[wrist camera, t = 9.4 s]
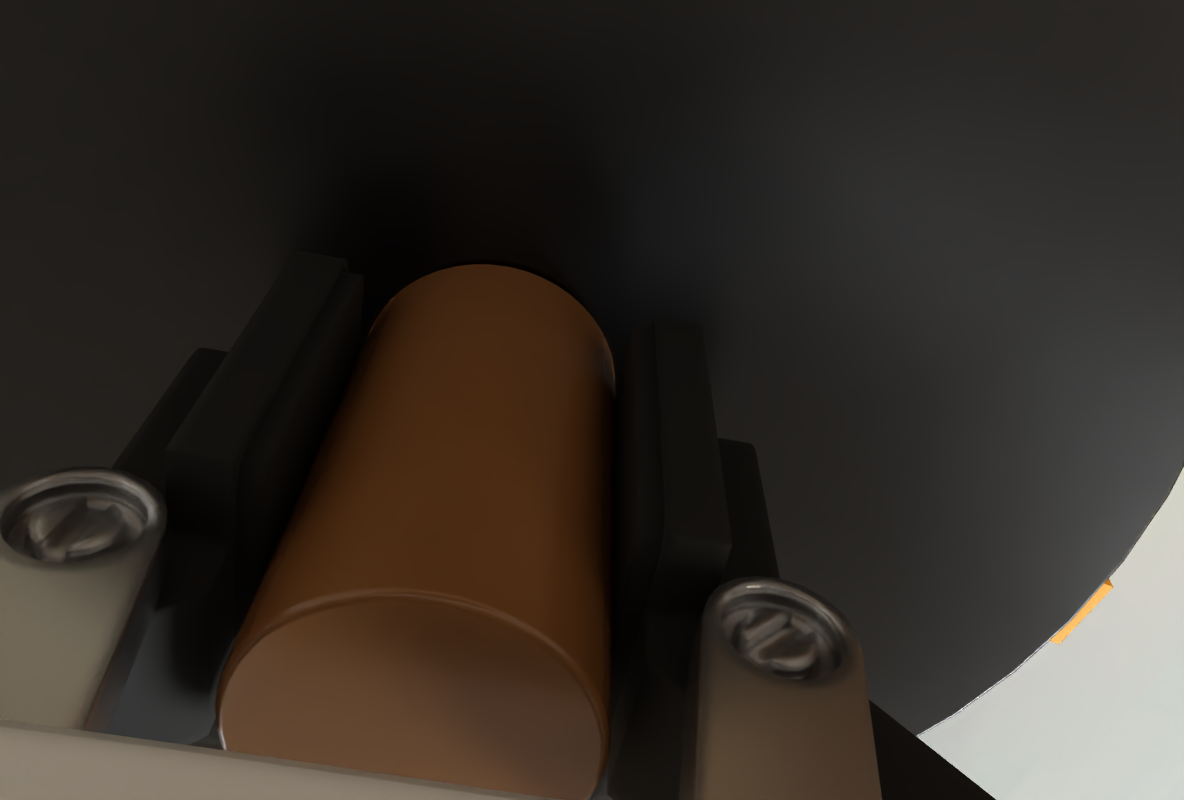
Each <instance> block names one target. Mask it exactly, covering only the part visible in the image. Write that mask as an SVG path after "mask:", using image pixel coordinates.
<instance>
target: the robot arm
mask: <svg viewBox="0 0 1184 800" xmlns="http://www.w3.org/2000/svg"><path fill="white" fill-rule="evenodd" d="M363 293H364V277H363V275H360V274H355V273H349V272H348V262H347V259H343V258H338V257H332V256H327V255H321V254H316V253H310V252H305V251H299V250H296V251H295V252H294V253H293V255H292V256H291V258H290V259H289V261H288V262H287V264H286V265H285V267H284V268H283V270H282V271H281V273H280V274H279V276H278V277H277V279H276V281H275V282H274V284H273V285H272V287H271V288H270V290H269V291H268V293H267V294H266V296H265V297H264V299H263V300H262V302H261V303H260V305H259V306H258V308H257V310H256V311H255V313H254V314H253V316H252V317H251V319H250V320H249V322H248V323H247V325H246V326H245V328H244V329H243V331H242V332H241V334H240V335H239V337H238V339H237V340H236V342H235V343H234V345H233V346H232V348H231V349H230V351H229V352H227V351H221V350H215V349H210V348H198V349H197V350H196V351H195V352H194V353H193V354H192V355H191V357H190V358H189V359H188V361H187V362H186V364H185V365H184V366H183V368H182V369H181V371H180V372H179V373H178V375H177V376H176V378H175V379H174V380H173V382H172V383H171V385H170V386H169V387H168V389H167V390H166V392H165V393H164V394H163V396H162V397H161V399H160V400H159V401H158V403H157V404H156V406H155V407H154V408H153V410H152V411H151V413H150V414H149V415H148V417H147V418H146V420H145V421H144V422H143V424H142V425H141V427H140V428H139V429H138V431H137V432H136V434H135V435H134V436H133V438H132V439H131V441H130V442H129V443H128V445H127V446H126V448H125V449H124V450H123V452H122V453H121V455H120V456H119V458H118V459H117V460H116V462H115V463H114V465H113V466H112V467H111V468H107V467H87V466H74V467H68V468H61V469H55V470H49V471H45V472H42V473H39V474H36V475H33V476H30V477H27V478H25V479H22V480H20V481H18V482H16V483H15V484H13V485H11V486H10V487H8V488H6V489H5V490H3V491H1V492H0V800H561V799H554V798H547V797H541V796H534V795H527V794H520V793H513V792H506V791H500V790H493V789H486V788H479V787H472V786H466V785H459V784H452V783H445V782H438V781H432V780H425V779H418V778H411V777H404V776H397V775H391V774H384V773H377V772H370V771H363V770H356V769H349V768H342V767H336V766H329V765H322V764H315V763H308V762H301V761H294V760H287V759H280V758H273V757H267V756H260V755H253V754H246V753H239V752H232V751H225V750H218V749H211V748H204V747H197V746H190V744H192V743H194V742H200V743H207V744H214V745H221V743H220V739H219V735H218V732H217V726H216V715H215V698H216V688H217V685H218V682H219V678H220V675H221V672H222V669H223V667H224V665H225V662H226V660H227V658H228V655H229V653H230V651H231V649H232V646H233V644H234V642H235V639H236V637H237V635H238V633H239V630H240V628H241V626H242V623H243V621H244V619H245V616H246V614H247V612H248V610H249V607H250V605H251V603H252V600H253V598H254V596H255V593H256V591H257V589H258V587H259V584H260V582H261V580H262V577H263V575H264V573H265V570H266V568H267V566H268V564H269V561H270V559H271V557H272V554H273V552H274V550H275V547H276V545H277V543H278V541H279V538H280V536H281V534H282V531H283V529H284V527H285V525H286V522H287V520H288V518H289V515H290V513H291V511H292V508H293V506H294V504H295V502H296V499H297V497H298V495H299V492H300V490H301V488H302V485H303V483H304V481H305V479H306V476H307V474H308V472H309V469H310V467H311V465H312V462H313V460H314V458H315V456H316V453H317V451H318V449H319V446H320V444H321V442H322V439H323V437H324V435H325V433H326V430H327V428H328V426H329V423H330V421H331V419H332V417H333V414H334V412H335V410H336V407H337V405H338V403H339V400H340V398H341V396H342V394H343V391H344V389H345V387H346V384H347V382H348V380H349V377H350V375H351V373H352V371H353V368H354V366H355V364H356V361H357V359H358V351H359V339H360V327H361V316H362V304H363ZM591 800H996V799H994V798H993V797H992V796H991V795H989V794H988V793H987V792H986V791H984V790H983V789H982V788H981V787H979V786H978V785H977V784H976V783H974V782H973V781H972V780H970V779H969V778H968V777H967V776H965V775H964V774H963V773H962V772H960V771H959V770H958V769H957V768H955V767H954V766H953V765H951V764H950V763H949V762H948V761H946V760H945V759H944V758H943V757H941V756H940V755H939V754H938V753H936V752H935V751H934V750H933V749H931V748H930V747H929V746H927V745H926V744H925V743H924V742H922V741H921V740H920V739H919V738H917V737H916V736H915V735H914V734H912V733H911V732H910V731H908V730H907V729H906V728H905V727H903V726H902V725H901V724H900V723H898V722H897V721H896V720H895V719H893V718H892V717H891V716H889V715H888V714H887V713H886V712H884V711H883V710H882V709H881V708H879V707H878V706H877V705H876V704H874V703H873V702H872V701H871V700H869V698H868V691H867V683H866V676H865V668H864V661H863V653H862V648H861V645H860V642H859V639H858V636H857V633H856V631H855V630H854V628H853V627H852V625H851V624H850V623H849V621H848V620H847V619H846V617H845V616H844V614H843V613H841V612H840V611H839V610H838V609H837V608H836V607H834V606H833V605H832V604H831V603H830V602H829V601H827V600H826V599H825V598H823V597H822V596H820V595H818V594H816V593H814V592H813V591H811V590H809V589H807V588H805V587H804V586H801V585H798V584H795V583H792V582H789V581H786V580H783V579H780V576H779V571H778V565H777V560H776V555H775V549H774V544H773V539H772V534H771V528H770V523H769V518H768V513H767V507H766V502H765V497H764V491H763V486H762V481H761V476H760V470H759V465H758V460H757V454H756V451H755V448H754V445H752V444H750V443H746V442H740V441H735V440H729V439H723V438H718V436H717V429H716V422H715V415H714V407H713V400H712V393H711V385H710V378H709V371H708V364H707V356H706V349H705V342H704V335H703V328H702V325H701V324H697V323H692V322H686V321H681V320H675V319H670V318H665V317H659V316H654V318H653V319H652V322H651V325H650V327H645V326H639V325H634V326H633V329H632V332H631V336H630V340H629V344H628V348H627V352H626V356H625V361H624V365H623V369H622V373H621V377H620V382H619V386H618V390H617V394H616V398H615V402H614V478H613V566H612V663H611V747H610V753H609V758H608V763H607V766H606V768H605V771H604V773H603V776H602V778H601V781H600V783H599V784H598V786H597V788H596V789H595V791H594V792H593V794H592V796H591Z"/></svg>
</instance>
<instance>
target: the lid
mask: <svg viewBox="0 0 1184 800" xmlns="http://www.w3.org/2000/svg"><path fill="white" fill-rule="evenodd" d="M296 250H299V251H305V252H310V253H316V254H321V255H327V256H332V257H338V258H343V259H347V262H348V272H349V273H355V274H360V275H363V277H364V293H363V304H362V316H361V327H360V339H359V351H358V359H357V361H356V364H355V366H354V368H353V371H352V373H351V375H350V377H349V380H348V382H347V384H346V387H345V389H344V391H343V394H342V396H341V398H340V400H339V403H338V405H337V407H336V410H335V412H334V414H333V417H332V419H331V421H330V423H329V426H328V428H327V430H326V433H325V435H324V437H323V439H322V442H321V444H320V446H319V449H318V451H317V453H316V456H315V458H314V460H313V462H312V465H311V467H310V469H309V472H308V474H307V476H306V479H305V481H304V483H303V485H302V488H301V490H300V492H299V495H298V497H297V499H296V502H295V504H294V506H293V508H292V511H291V513H290V515H289V518H288V520H287V522H286V525H285V527H284V529H283V531H282V534H281V536H280V538H279V541H278V543H277V545H276V547H275V550H274V552H273V554H272V557H271V559H270V561H269V564H268V566H267V568H266V570H265V573H264V575H263V577H262V580H261V582H260V584H259V587H258V589H257V591H256V593H255V596H254V598H253V600H252V603H251V605H250V607H249V610H248V612H247V614H246V616H245V619H244V621H243V623H242V626H241V628H240V630H239V633H238V635H237V637H236V639H235V642H234V644H233V646H232V649H231V651H230V653H229V655H228V658H227V660H226V662H225V665H224V667H223V669H222V672H221V675H220V678H219V682H218V685H217V688H216V698H215V715H216V726H217V732H218V735H219V739H220V743H221V745H214V744H207V743H200V742H194V743H192V744H190V746H197V747H204V748H211V749H218V750H225V751H232V752H239V753H246V754H253V755H260V756H267V757H273V758H280V759H287V760H294V761H301V762H308V763H315V764H322V765H329V766H336V767H342V768H349V769H356V770H363V771H370V772H377V773H384V774H391V775H397V776H404V777H411V778H418V779H425V780H432V781H438V782H445V783H452V784H459V785H466V786H472V787H479V788H486V789H493V790H500V791H506V792H513V793H520V794H527V795H534V796H541V797H547V798H554V799H561V800H591V796H592V794H593V792H594V791H595V789H596V788H597V786H598V784H599V783H600V781H601V778H602V776H603V773H604V771H605V768H606V766H607V763H608V758H609V753H610V747H611V663H612V566H613V478H614V402H615V398H616V394H617V390H618V386H619V382H620V377H621V373H622V369H623V365H624V361H625V356H626V352H627V348H628V344H629V340H630V336H631V332H632V329H633V326H634V325H639V326H645V327H650V325H651V322H652V319H653V318H654V316H659V317H665V318H670V319H675V320H681V321H686V322H692V323H697V324H701V325H702V328H703V335H704V342H705V349H706V356H707V364H708V371H709V378H710V385H711V393H712V400H713V407H714V415H715V422H716V429H717V436H718V438H723V439H729V440H735V441H740V442H746V443H750V444H752V445H754V448H755V451H756V454H757V460H758V465H759V470H760V476H761V481H762V486H763V491H764V497H765V502H766V507H767V513H768V518H769V523H770V528H771V534H772V539H773V544H774V549H775V555H776V560H777V565H778V571H779V576H780V579H783V580H786V581H789V582H792V583H795V584H798V585H801V586H804V587H805V588H807V589H809V590H811V591H813V592H814V593H816V594H818V595H820V596H822V597H823V598H825V599H826V600H827V601H829V602H830V603H831V604H832V605H833V606H834V607H836V608H837V609H838V610H839V611H840V612H841V613H843V614H844V616H845V617H846V619H847V620H848V621H849V623H850V624H851V625H852V627H853V628H854V630H855V631H856V633H857V636H858V639H859V642H860V645H861V648H862V653H863V661H864V668H865V676H866V683H867V691H868V698H869V700H871V701H872V702H873V703H874V704H876V705H877V706H878V707H879V708H881V709H882V710H883V711H884V712H886V713H887V714H888V715H889V716H891V717H892V718H893V719H895V720H896V721H897V722H898V723H900V724H901V725H902V726H903V727H905V728H906V729H907V730H908V731H910V732H911V733H912V734H914V735H915V736H916V737H918V736H919V735H921V734H923V733H925V732H926V731H928V730H930V729H931V728H933V727H935V726H937V725H938V724H940V723H942V722H944V721H945V720H947V719H949V718H951V717H952V716H954V715H956V714H957V713H958V712H960V711H961V710H963V709H964V708H965V707H967V706H968V705H969V704H971V703H972V702H974V701H975V700H976V699H978V698H979V697H980V696H982V695H983V694H985V693H986V692H987V691H989V690H990V689H992V688H993V687H994V686H996V685H997V684H998V683H1000V682H1001V681H1003V680H1004V679H1005V678H1007V677H1008V676H1010V675H1011V674H1012V673H1014V672H1015V671H1016V670H1017V669H1018V668H1019V667H1021V666H1022V665H1023V664H1024V663H1025V662H1026V661H1027V660H1028V659H1029V658H1031V657H1032V656H1033V655H1034V654H1035V653H1036V652H1037V651H1038V650H1039V649H1041V648H1042V647H1043V646H1044V645H1045V644H1046V643H1047V642H1048V641H1049V640H1050V639H1052V638H1053V637H1054V636H1055V635H1056V634H1057V633H1058V632H1059V631H1060V630H1062V629H1063V628H1064V627H1065V626H1066V625H1067V624H1068V623H1069V622H1070V621H1071V620H1072V619H1073V618H1074V617H1075V616H1076V615H1077V614H1078V613H1079V611H1080V610H1081V609H1082V608H1083V607H1084V606H1085V605H1086V603H1087V602H1088V601H1089V600H1090V599H1091V598H1092V597H1093V596H1094V594H1095V593H1096V592H1097V591H1098V590H1099V589H1100V588H1101V586H1102V585H1103V584H1104V583H1105V582H1106V581H1107V580H1108V578H1109V577H1110V576H1111V575H1112V574H1113V573H1114V572H1115V571H1116V569H1117V568H1118V567H1119V566H1120V565H1121V564H1122V563H1123V561H1124V560H1125V558H1126V557H1127V555H1128V554H1129V553H1130V551H1131V550H1132V548H1133V547H1134V545H1135V544H1136V542H1137V541H1138V539H1139V538H1140V537H1141V535H1142V534H1143V532H1144V531H1145V529H1146V528H1147V526H1148V525H1149V523H1150V522H1151V521H1152V519H1153V518H1154V516H1155V515H1156V513H1157V512H1158V510H1159V509H1160V507H1161V506H1162V504H1163V503H1164V502H1165V500H1166V499H1167V497H1168V496H1169V494H1170V492H1171V490H1172V488H1173V486H1174V484H1175V482H1176V480H1177V478H1178V476H1179V474H1180V473H1181V471H1182V469H1183V467H1184V0H0V492H1V491H3V490H5V489H6V488H8V487H10V486H11V485H13V484H15V483H16V482H18V481H20V480H22V479H25V478H27V477H30V476H33V475H36V474H39V473H42V472H45V471H49V470H55V469H61V468H68V467H74V466H87V467H107V468H111V467H112V466H113V465H114V463H115V462H116V460H117V459H118V458H119V456H120V455H121V453H122V452H123V450H124V449H125V448H126V446H127V445H128V443H129V442H130V441H131V439H132V438H133V436H134V435H135V434H136V432H137V431H138V429H139V428H140V427H141V425H142V424H143V422H144V421H145V420H146V418H147V417H148V415H149V414H150V413H151V411H152V410H153V408H154V407H155V406H156V404H157V403H158V401H159V400H160V399H161V397H162V396H163V394H164V393H165V392H166V390H167V389H168V387H169V386H170V385H171V383H172V382H173V380H174V379H175V378H176V376H177V375H178V373H179V372H180V371H181V369H182V368H183V366H184V365H185V364H186V362H187V361H188V359H189V358H190V357H191V355H192V354H193V353H194V352H195V351H196V350H197V349H198V348H210V349H215V350H221V351H227V352H229V351H230V349H231V348H232V346H233V345H234V343H235V342H236V340H237V339H238V337H239V335H240V334H241V332H242V331H243V329H244V328H245V326H246V325H247V323H248V322H249V320H250V319H251V317H252V316H253V314H254V313H255V311H256V310H257V308H258V306H259V305H260V303H261V302H262V300H263V299H264V297H265V296H266V294H267V293H268V291H269V290H270V288H271V287H272V285H273V284H274V282H275V281H276V279H277V277H278V276H279V274H280V273H281V271H282V270H283V268H284V267H285V265H286V264H287V262H288V261H289V259H290V258H291V256H292V255H293V253H294V252H295V251H296Z"/></svg>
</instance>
